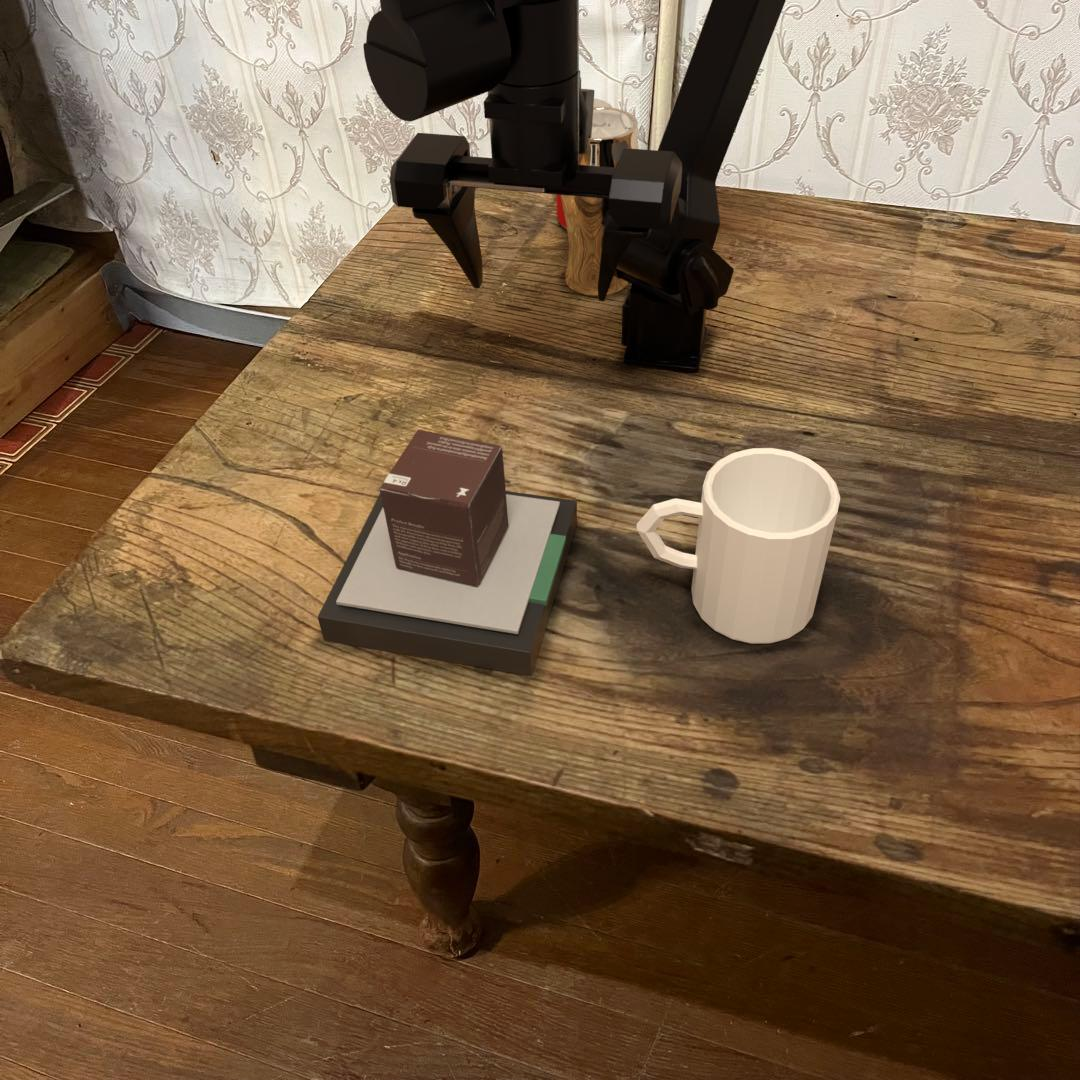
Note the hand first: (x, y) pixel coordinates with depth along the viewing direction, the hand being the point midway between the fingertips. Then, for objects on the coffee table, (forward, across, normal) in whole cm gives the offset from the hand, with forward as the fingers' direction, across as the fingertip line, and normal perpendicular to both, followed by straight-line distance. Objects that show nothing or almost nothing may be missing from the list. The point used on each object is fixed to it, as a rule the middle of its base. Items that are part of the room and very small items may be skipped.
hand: (539, 291), depth 75 cm
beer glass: (+12, 0, -22) cm, 25 cm away
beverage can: (+12, +3, -32) cm, 34 cm away
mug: (+12, -16, +16) cm, 26 cm away
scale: (+12, +2, +18) cm, 22 cm away
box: (+9, +2, +18) cm, 20 cm away
